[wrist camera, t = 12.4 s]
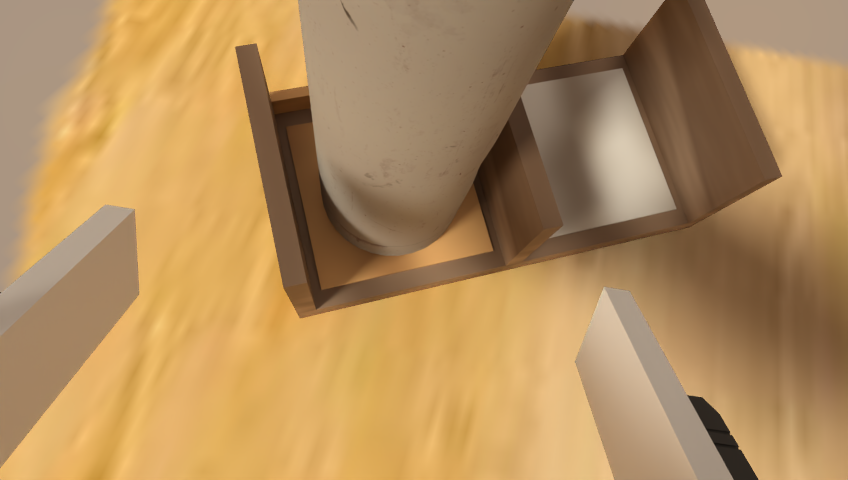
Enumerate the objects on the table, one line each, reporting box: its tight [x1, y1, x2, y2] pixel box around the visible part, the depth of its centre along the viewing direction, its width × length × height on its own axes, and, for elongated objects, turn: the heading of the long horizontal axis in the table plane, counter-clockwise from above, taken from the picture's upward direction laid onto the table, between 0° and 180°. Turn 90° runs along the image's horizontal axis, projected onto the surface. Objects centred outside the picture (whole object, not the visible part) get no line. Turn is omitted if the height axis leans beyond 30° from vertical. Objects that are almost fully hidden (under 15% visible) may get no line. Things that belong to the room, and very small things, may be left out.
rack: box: [235, 0, 782, 318], centre depth 33 cm, size 25×13×8 cm, turn 105°
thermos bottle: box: [298, 0, 574, 256], centre depth 21 cm, size 8×8×28 cm
